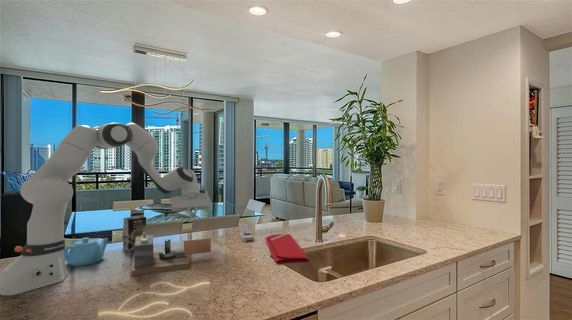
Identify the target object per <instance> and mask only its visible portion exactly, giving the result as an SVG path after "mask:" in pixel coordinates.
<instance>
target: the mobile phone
mask: <svg viewBox="0 0 572 320" xmlns="http://www.w3.org/2000/svg"><path fill="white" fill-rule="evenodd" d="M238 228H239V232H240V233H239V235H240V237H241V239H242V241H243V242H245V243H247V242H249V241H253V240H254V237H253V236H254V235H252V233H251V232H250V230H249V225H248V223H238Z"/></svg>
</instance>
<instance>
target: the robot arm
mask: <svg viewBox="0 0 572 320" xmlns="http://www.w3.org/2000/svg"><path fill="white" fill-rule="evenodd" d="M158 143H159V142H157V140H156V139H155V138H154V137H153V136H152V135H151V134H150V133H149V132H148V131H147V130H146V129H144V128H142V127H141V126H140V125H138V124H137V123H134V122H129V123H126V124H123V123H120V122H111V123H110V122H109V123H105V124H102V125H100V126H97V127H95V128H93V127H90V126H89V125H85V124H84V125H83V124H80V125H79V124H78V125H76V126H74V127H73V128H72V129H71V130H70V131H69V132H68V133H67V135H65V137H63V139H62V140H61V142H60V143H59V144H58V146H57V147H56V148H55V150H54V151H53V153H52V154H50V156H49V157H48V159H47V160H46V161H45V162H44V163H43V164H42V165H41V166H40V167H39V168H38V169H37V170H36V171H35V172H34V173H33V174H32V175H31V176H30V177H29V178H28V179H27V180H26V181H24V182H23V183H22V184H21V186H20V190H19V191H20V196H21V197H22V198H23V200H25V201H26V202H27V203H30V204H32V210H31V215H30V218H29V220H28V221H27V223H26V227H27V228H26V243H25V245H24V246H21V245H17V246H15V248H14V252H15V253H20V255H19V256H18V257H16V259H14V260H13V262H11V263H10V264H9V265H7V266H6V267H5V268H4V269H2V270H1V272H0V296H16V295H19V294H23V293H26V292H30V291H33V290H37V289H40V288H44V287H46V286H50V285H53V284H54V285H55V284H57V283H61V282H63V281H64V280H65V278H66V277H67V276H69V271H68V268H67V263H66V260H65V258H64V250H65V246H66V240H65V238H64V234H65V233H64V232H65V229H64V228H65V225H64V224H65V216H66V212H67V208H68V205H69V202H70V201H71V200H72V198H73V195H74V189H73V186H72V185H71V184H70V183H69V182H68V181H69V180H71V179H72V178H73V176H75V175H76V174H78V173H79V172H80V171H81V169H82V167H83V166H84V164H85V163H86V161H87V160H88V158H89V157H90V155H91V153H92V152H93V150H94V149H95V148H96V149H101V150H108V149H115V148H119V147H122V146H124V145H126V146H127V147H129V149H131V150H132V151H133V152H134V154H135V155H136V157H137V159H136V160H137V161H136V162H137V164H138V165H139V167H140V168H141V170H142V171H143V172H144V173H145V174H146V176H148V178H149V179H150V181H151V182H152V183H153V184H154V186H155V187H156V189H157V191H158V192H159V193H161V194H165V195H169V194H171V193H172V192H174V191H175V190H177V189H178V188H182V189H181V195H173V196H171V197H170V198H169V199H170V203H171V211H172V212H186V213H187V214H188V215H189V217H190V218H196V217H197V213H198V211H204V210H205V211H206V210H210V209H211V208H212V200H211V197H210V196H209V193H208V190H207V189H206V190H205V189H200V188H198V186H199V185H198V178H197V175H196V173H195V171H194V170H192V169H188V167H185V166H176V167H175V168H173V169H171V170H170V171H168V172H166V173H165V174H160V172H159V171H158V169H156V168H155V166H154V165H153V161H154V159H155V158H156V156H157V155H158V152H159V144H158ZM192 211H193V212H192Z"/></svg>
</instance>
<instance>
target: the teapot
mask: <svg viewBox="0 0 572 320" xmlns="http://www.w3.org/2000/svg"><path fill="white" fill-rule="evenodd" d="M108 241H109V238H107V237H105V238H103V239H102V241H101V242H99V241H97V239H90V237H88V236H87V237H82V238H81V240H76V239H73V240H70V242H71V243H70V244H71V245H65V250H64V258H65V262H66V264H69V265H70V266H72V267H81V266H83V267H84V266H90V265H93V264H96V263H99V262H100V261H101V260H102V259H103V258H104V255H105V254H104V253H105V250H106V247H107V245H108V244H107V243H108Z"/></svg>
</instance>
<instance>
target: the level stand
mask: <svg viewBox="0 0 572 320" xmlns="http://www.w3.org/2000/svg"><path fill="white" fill-rule="evenodd" d="M174 251H176V252H179V251H184V248H183V249H182V248H181V249H174ZM159 252H160V251H155V252H154V235H152V234H151V235H148V234H147V231H146V232H144V233H143V234H142V236H138V237H136V240H135V250H134V254H133V255H132V256H133V258H132V264H131V270H130V275H131V276H132V277H133V276H140V275H141V276H142V275H148V274H154V273H162V272H170V271H176V270H184V269H189V268H190V262H189V259H188V255H183V256H175V257H173V258H169V259H161V258H159Z"/></svg>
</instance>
